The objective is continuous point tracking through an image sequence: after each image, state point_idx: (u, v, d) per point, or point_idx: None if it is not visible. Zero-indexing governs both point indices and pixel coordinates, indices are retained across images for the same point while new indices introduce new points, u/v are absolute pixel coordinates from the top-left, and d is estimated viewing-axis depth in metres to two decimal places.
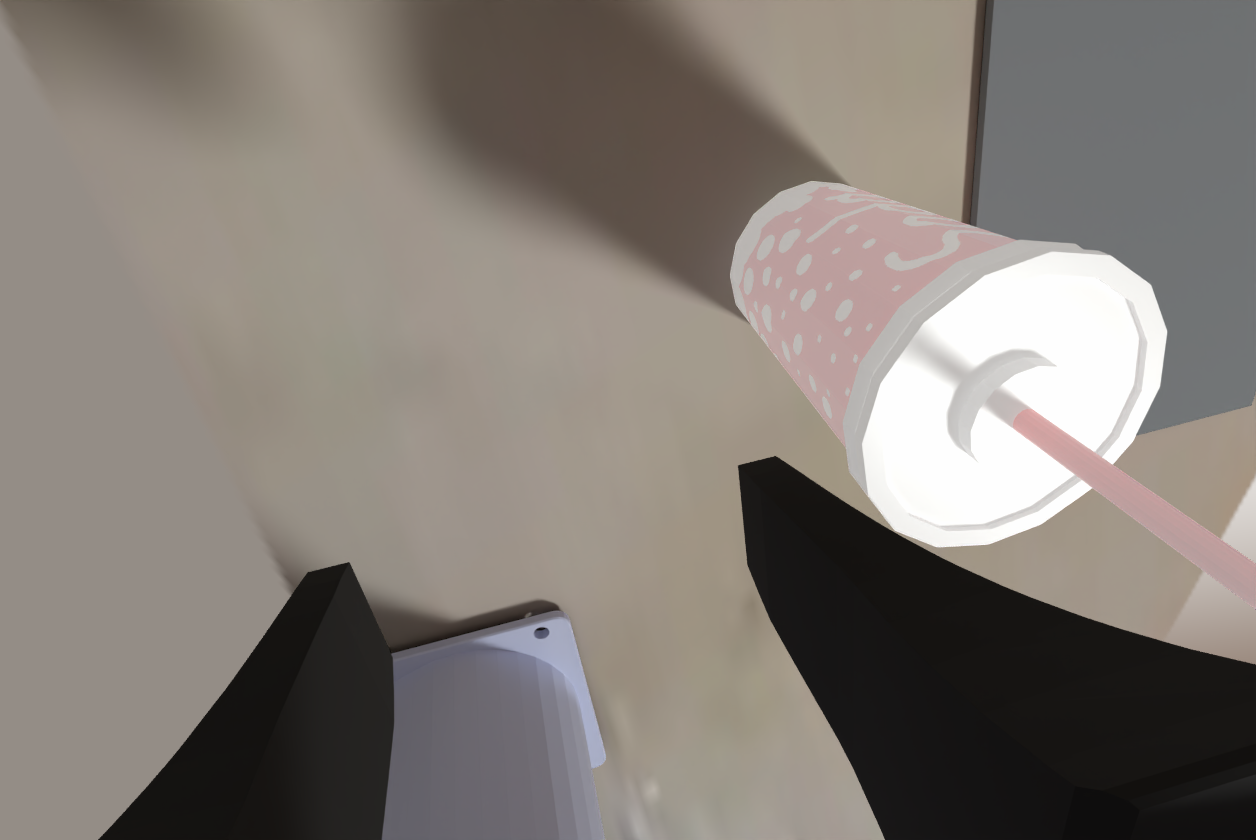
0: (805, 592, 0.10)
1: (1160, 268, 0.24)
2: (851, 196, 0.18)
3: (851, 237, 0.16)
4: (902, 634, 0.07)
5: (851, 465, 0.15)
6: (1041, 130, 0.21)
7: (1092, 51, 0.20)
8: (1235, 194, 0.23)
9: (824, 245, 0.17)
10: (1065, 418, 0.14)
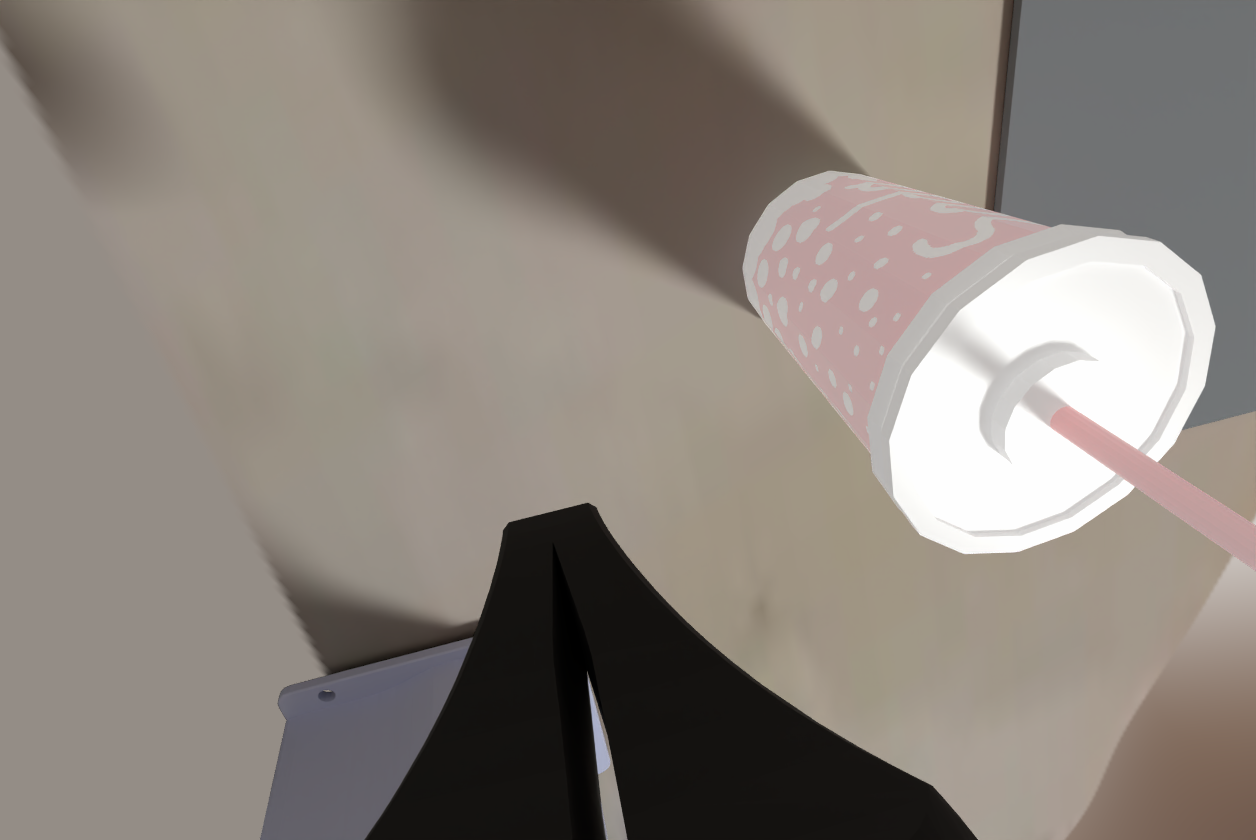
0: (586, 651, 0.10)
1: (1188, 263, 0.23)
2: (873, 185, 0.17)
3: (875, 225, 0.15)
4: (608, 715, 0.07)
5: (875, 464, 0.14)
6: (1070, 118, 0.20)
7: (1125, 35, 0.19)
8: None
9: (845, 233, 0.16)
10: (1105, 417, 0.13)
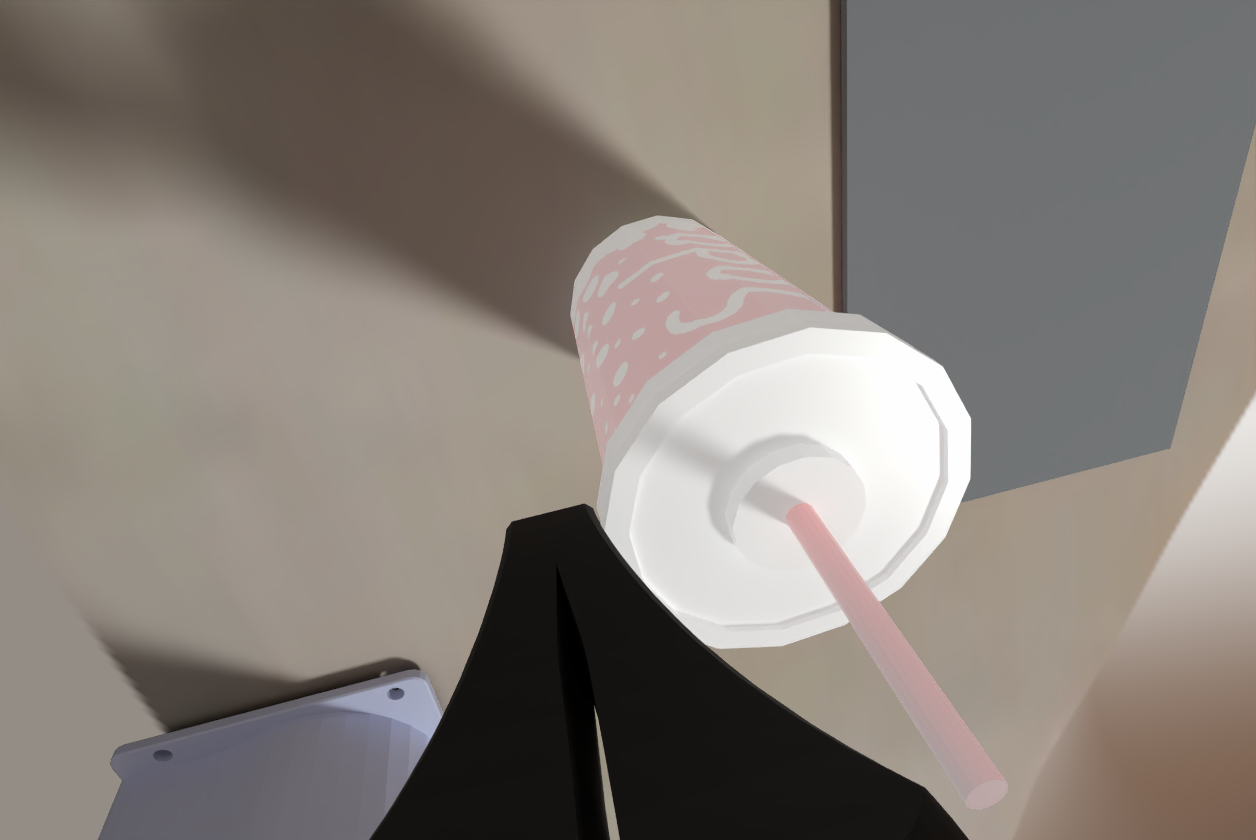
0: (582, 652, 0.10)
1: (1058, 306, 0.22)
2: (680, 238, 0.16)
3: (652, 288, 0.14)
4: (602, 717, 0.07)
5: None
6: (913, 160, 0.19)
7: (965, 74, 0.18)
8: (1138, 227, 0.21)
9: (628, 294, 0.15)
10: (851, 514, 0.12)
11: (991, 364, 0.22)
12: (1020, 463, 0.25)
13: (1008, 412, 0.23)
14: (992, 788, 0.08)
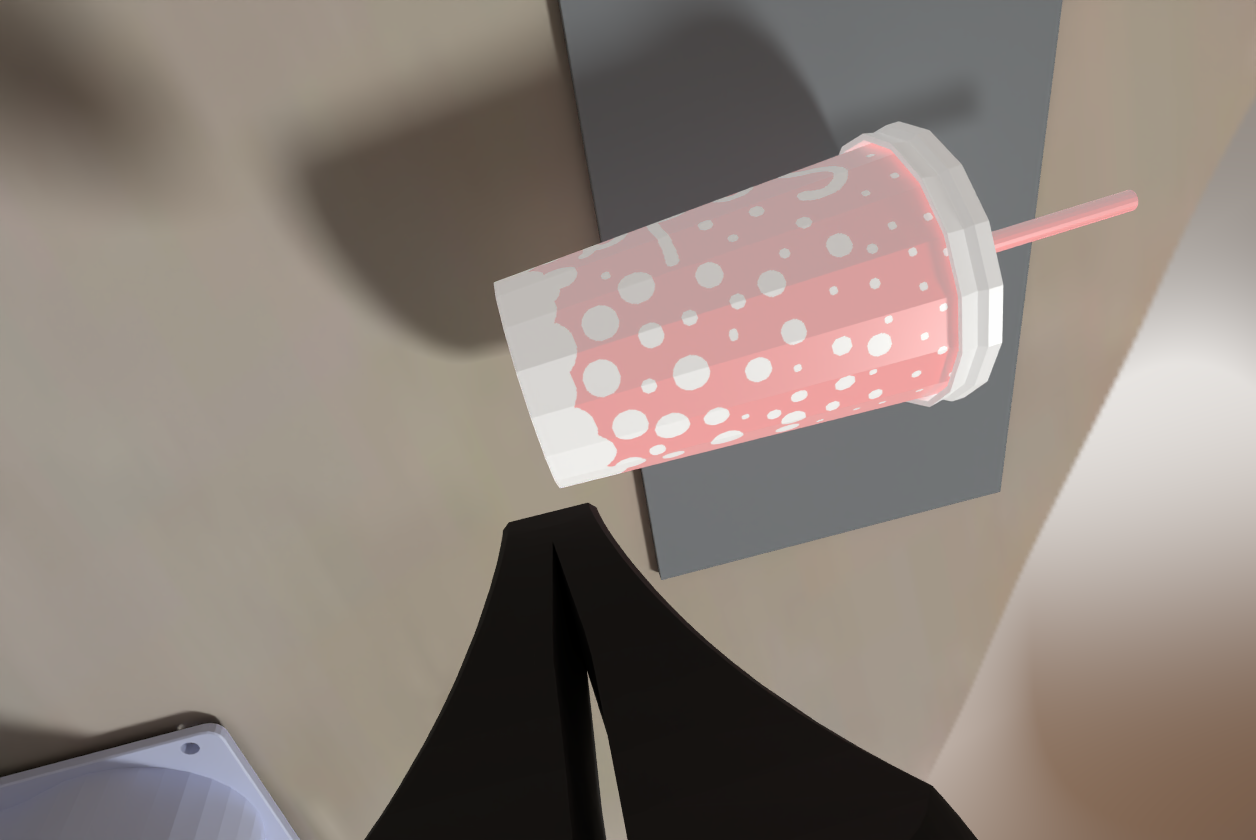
0: (586, 651, 0.10)
1: None
2: (603, 243, 0.16)
3: (724, 225, 0.15)
4: (608, 716, 0.07)
5: (966, 341, 0.14)
6: (670, 211, 0.18)
7: (712, 124, 0.17)
8: None
9: (706, 249, 0.14)
10: None
11: None
12: (838, 509, 0.24)
13: (817, 459, 0.23)
14: (1128, 196, 0.17)
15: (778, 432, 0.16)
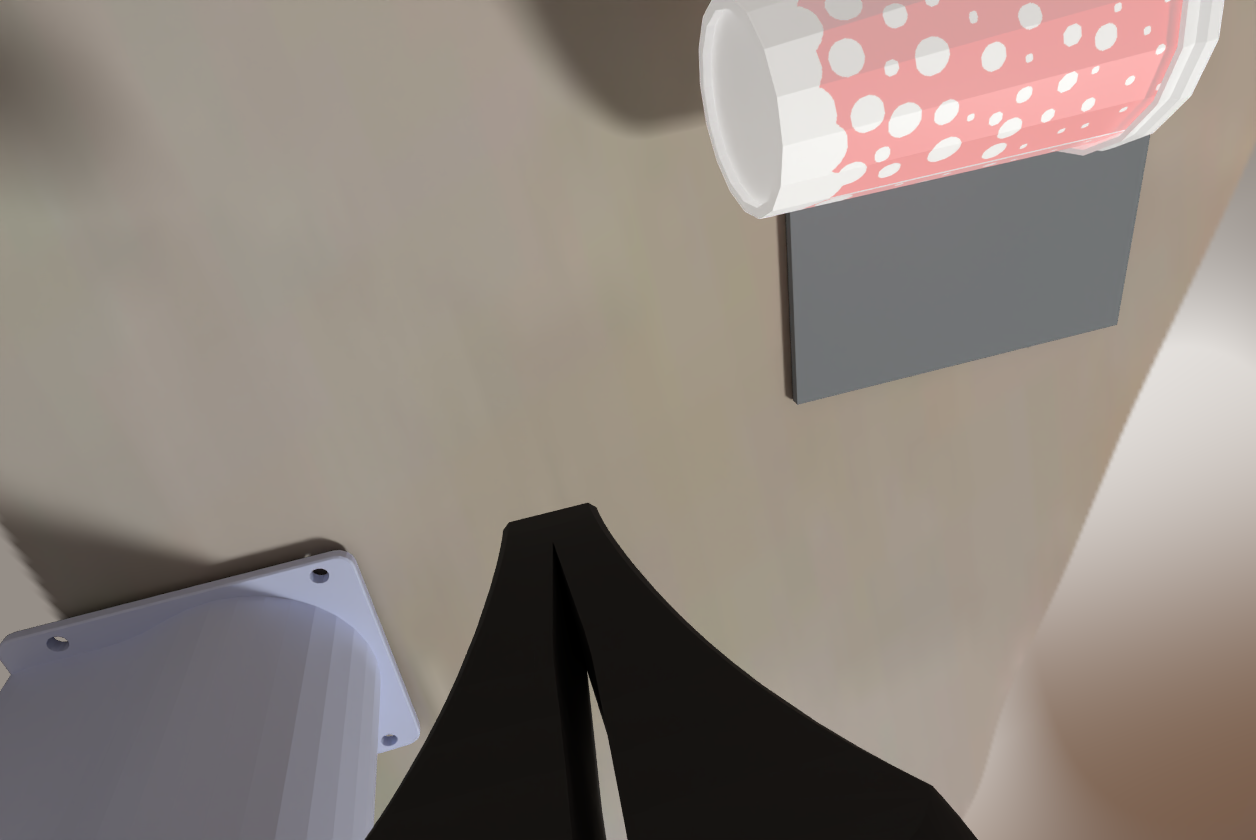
0: (586, 651, 0.10)
1: None
2: None
3: None
4: (608, 715, 0.07)
5: (1188, 34, 0.15)
6: None
7: None
8: None
9: None
10: None
11: (935, 217, 0.22)
12: (969, 333, 0.24)
13: (954, 273, 0.23)
14: None
15: (981, 160, 0.17)
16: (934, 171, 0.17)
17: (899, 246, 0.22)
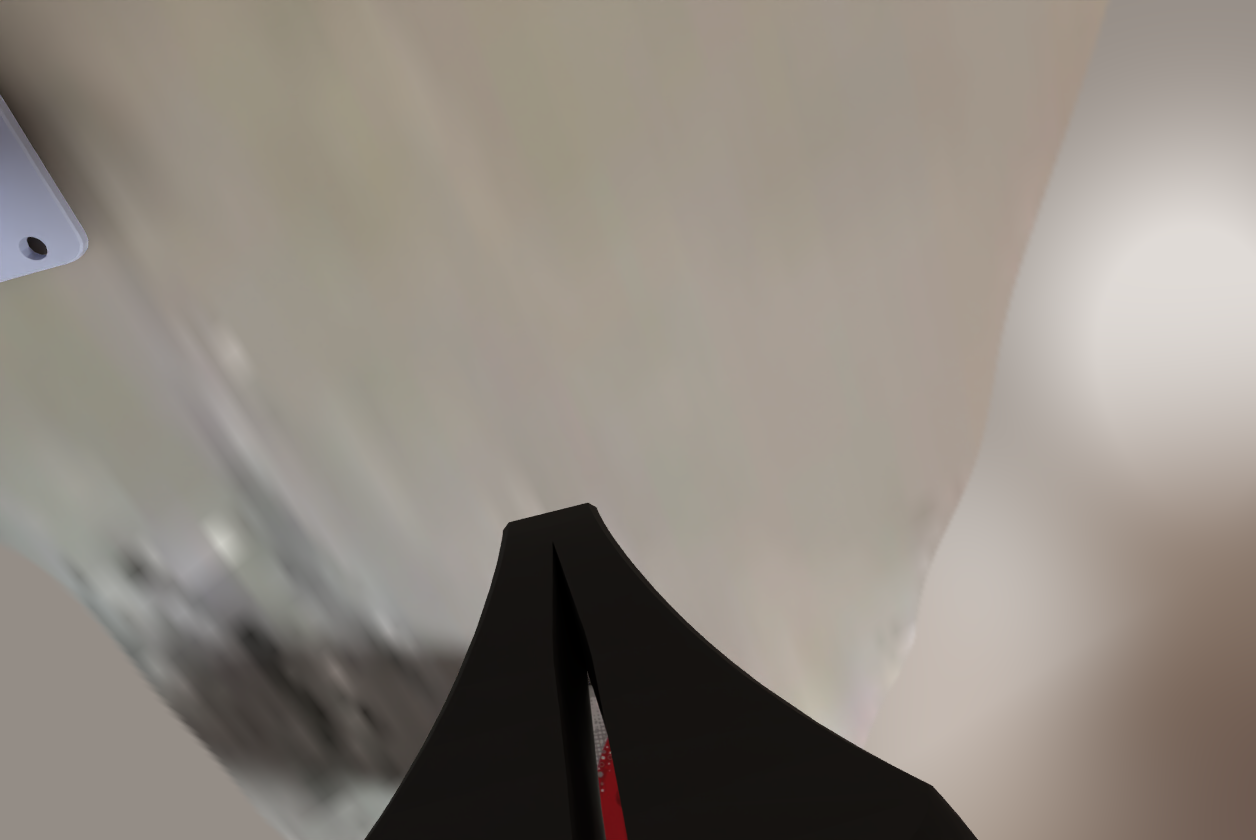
0: (586, 651, 0.10)
1: None
2: None
3: None
4: (608, 715, 0.07)
5: None
6: None
7: None
8: None
9: None
10: None
11: None
12: None
13: None
14: None
15: None
16: None
17: None
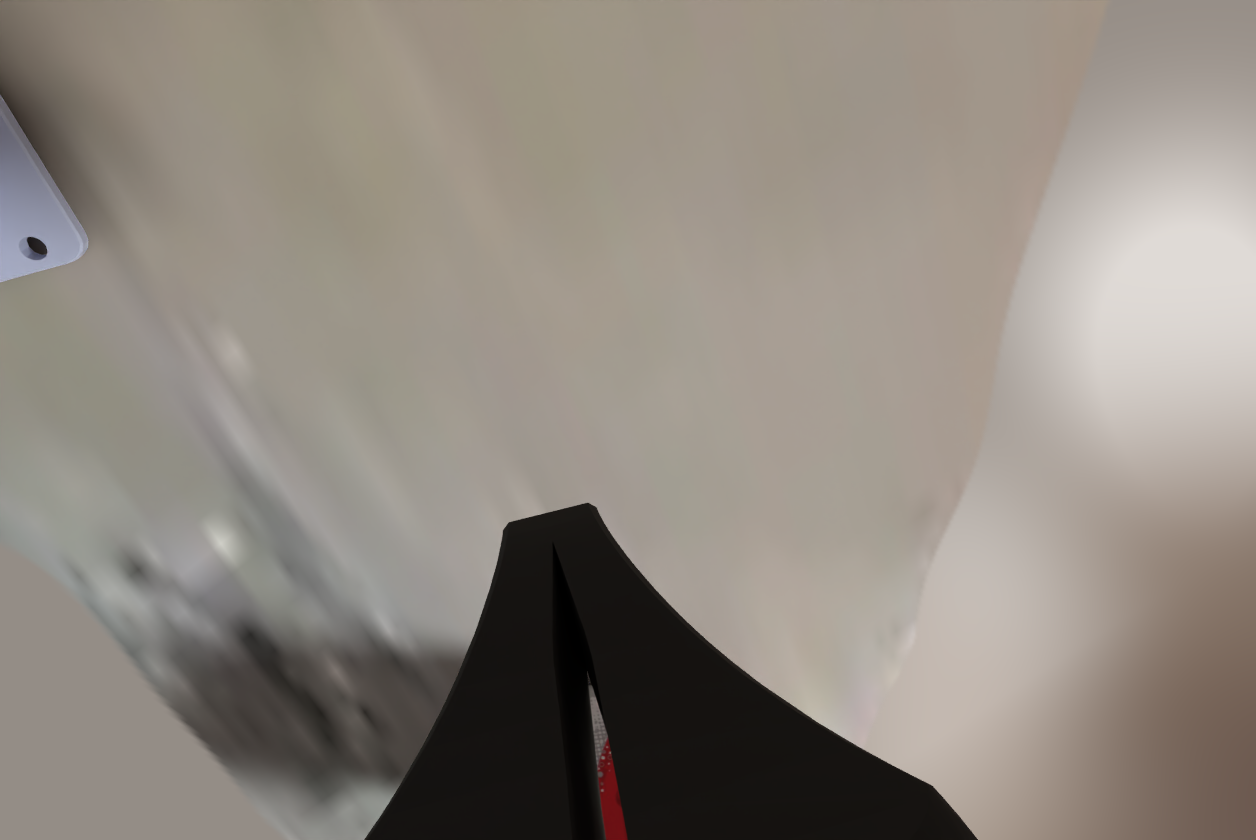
0: (586, 651, 0.10)
1: None
2: None
3: None
4: (608, 715, 0.07)
5: None
6: None
7: None
8: None
9: None
10: None
11: None
12: None
13: None
14: None
15: None
16: None
17: None
